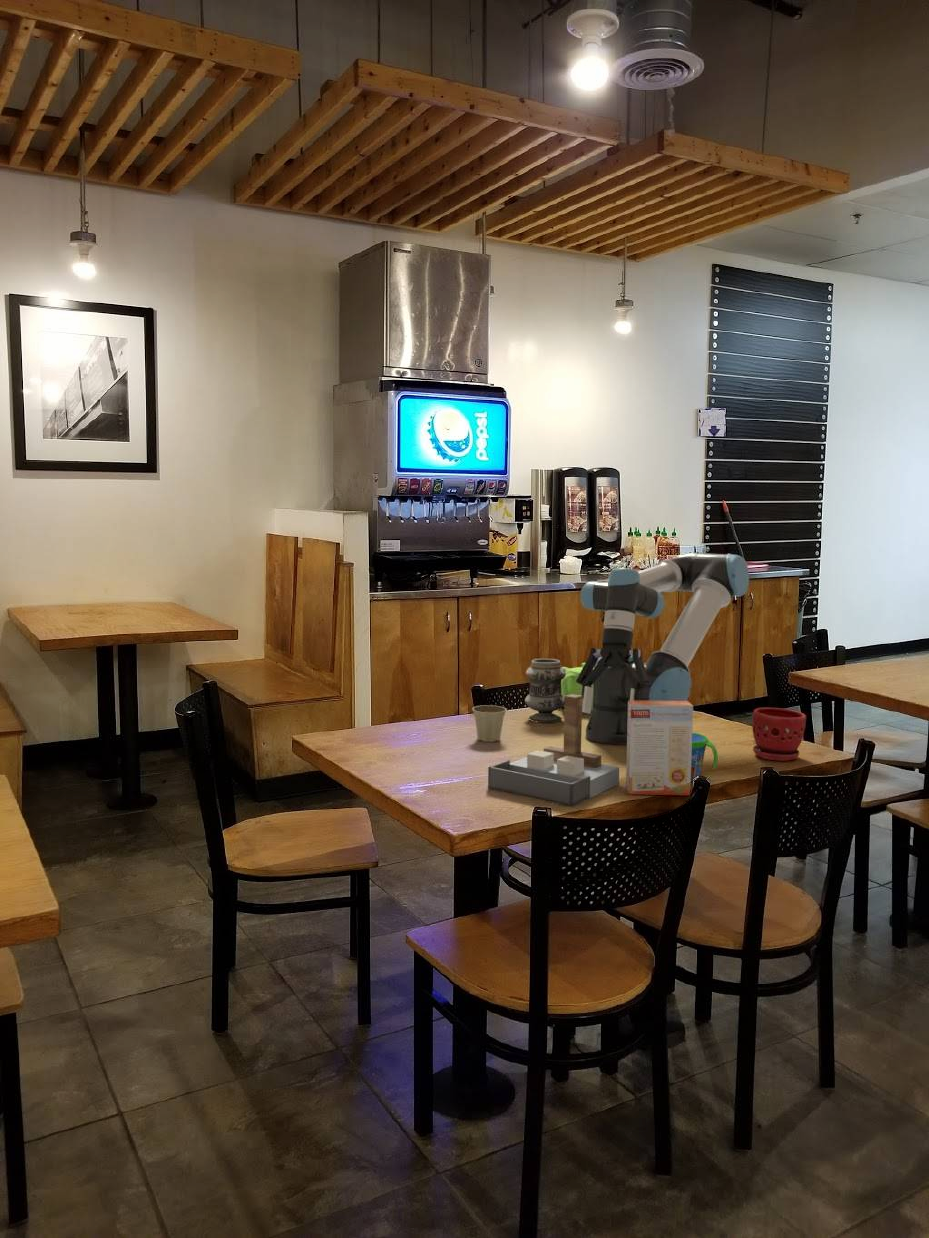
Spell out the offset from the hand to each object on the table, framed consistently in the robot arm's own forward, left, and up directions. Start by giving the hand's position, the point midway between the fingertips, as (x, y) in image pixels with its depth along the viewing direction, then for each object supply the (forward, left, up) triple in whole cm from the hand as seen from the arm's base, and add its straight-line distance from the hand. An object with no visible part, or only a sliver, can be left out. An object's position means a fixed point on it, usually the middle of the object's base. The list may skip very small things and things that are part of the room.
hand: (608, 714), depth 247 cm
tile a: (+22, -6, -9) cm, 25 cm away
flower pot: (-5, -39, -14) cm, 42 cm away
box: (+29, -2, -13) cm, 32 cm away
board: (+18, -2, -13) cm, 23 cm away
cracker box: (+12, +19, -14) cm, 26 cm away
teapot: (-60, -38, -14) cm, 72 cm away
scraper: (+14, -2, -9) cm, 17 cm away
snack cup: (-3, +19, -14) cm, 24 cm away
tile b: (+22, +2, -9) cm, 24 cm away
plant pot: (-37, +30, -14) cm, 49 cm away
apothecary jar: (-36, -40, -14) cm, 55 cm away
